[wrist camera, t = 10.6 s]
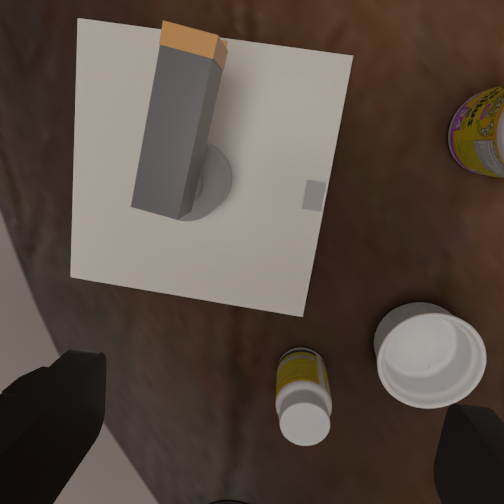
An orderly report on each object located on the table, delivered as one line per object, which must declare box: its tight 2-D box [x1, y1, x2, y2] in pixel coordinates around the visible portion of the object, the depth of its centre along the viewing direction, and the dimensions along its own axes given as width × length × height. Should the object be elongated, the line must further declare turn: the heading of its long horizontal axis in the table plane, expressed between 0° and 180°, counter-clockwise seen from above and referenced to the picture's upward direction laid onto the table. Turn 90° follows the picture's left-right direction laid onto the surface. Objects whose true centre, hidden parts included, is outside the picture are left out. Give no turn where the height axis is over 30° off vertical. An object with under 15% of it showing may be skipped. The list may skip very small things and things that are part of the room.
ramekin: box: [374, 302, 486, 409], centre depth 36 cm, size 9×9×4 cm
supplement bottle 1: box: [276, 347, 332, 446], centre depth 35 cm, size 5×5×8 cm
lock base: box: [71, 18, 353, 317], centre depth 33 cm, size 22×22×6 cm
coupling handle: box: [131, 21, 228, 220], centre depth 26 cm, size 10×3×6 cm, turn 165°
